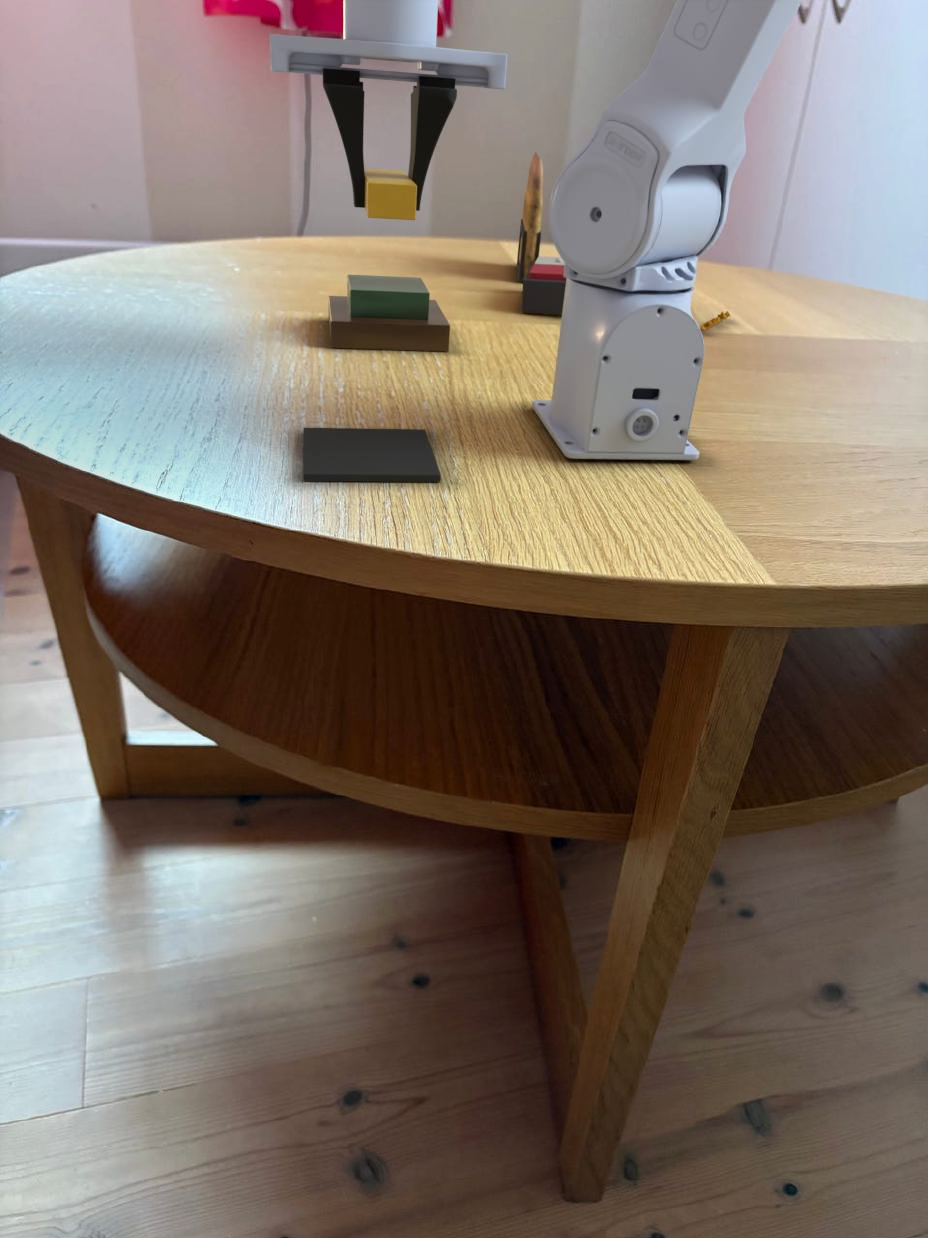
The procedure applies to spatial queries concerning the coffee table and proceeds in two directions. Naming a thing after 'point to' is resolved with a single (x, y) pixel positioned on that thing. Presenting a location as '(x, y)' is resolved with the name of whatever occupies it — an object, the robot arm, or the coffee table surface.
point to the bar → (389, 195)
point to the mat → (368, 455)
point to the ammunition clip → (531, 219)
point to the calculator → (544, 286)
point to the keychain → (715, 320)
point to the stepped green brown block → (387, 316)
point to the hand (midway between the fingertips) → (386, 207)
